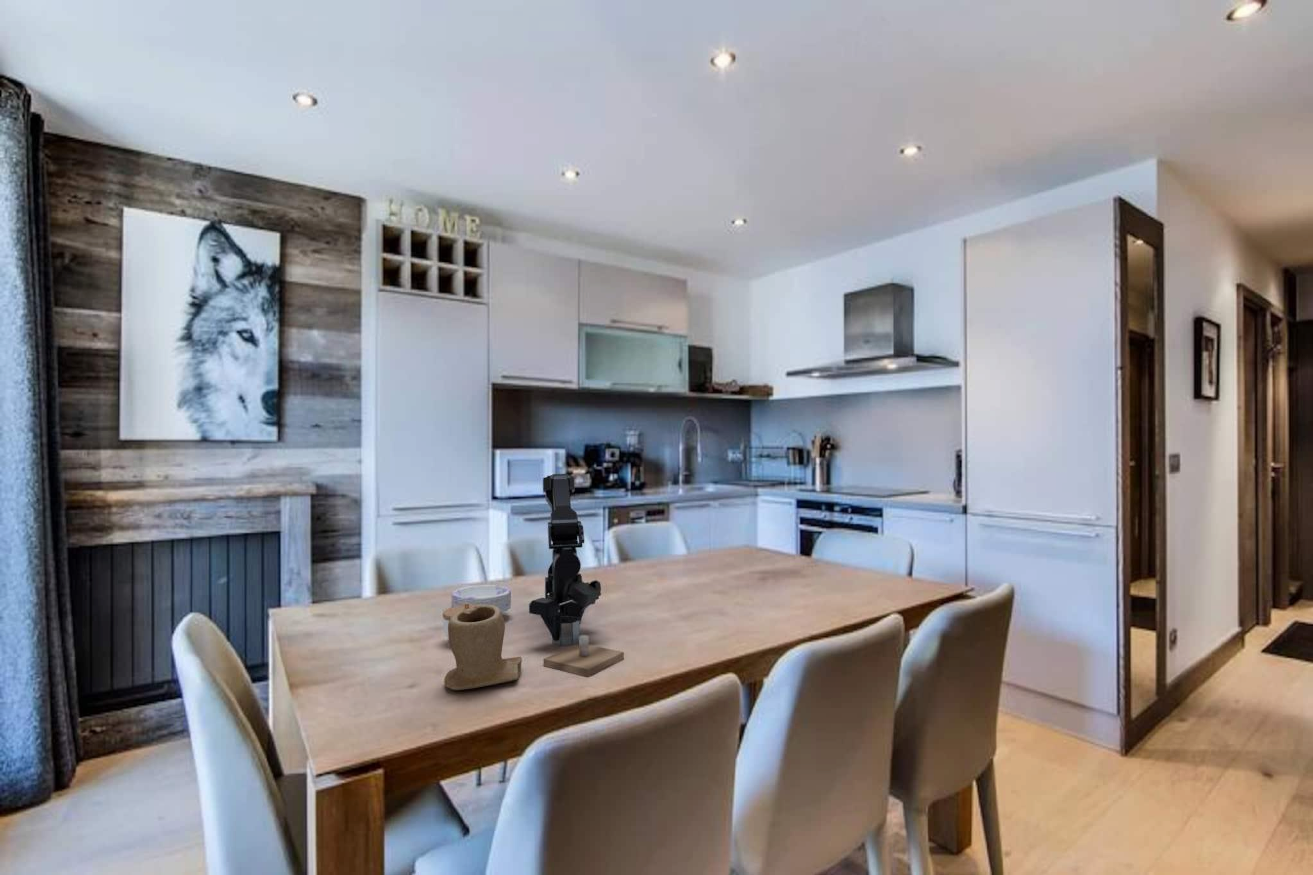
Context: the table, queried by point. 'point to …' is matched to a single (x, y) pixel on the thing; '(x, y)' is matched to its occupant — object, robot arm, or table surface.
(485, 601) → the paper bowls
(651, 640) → the table surface
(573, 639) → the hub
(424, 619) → the table surface
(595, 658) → the block
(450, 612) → the lidded jar
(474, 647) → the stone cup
